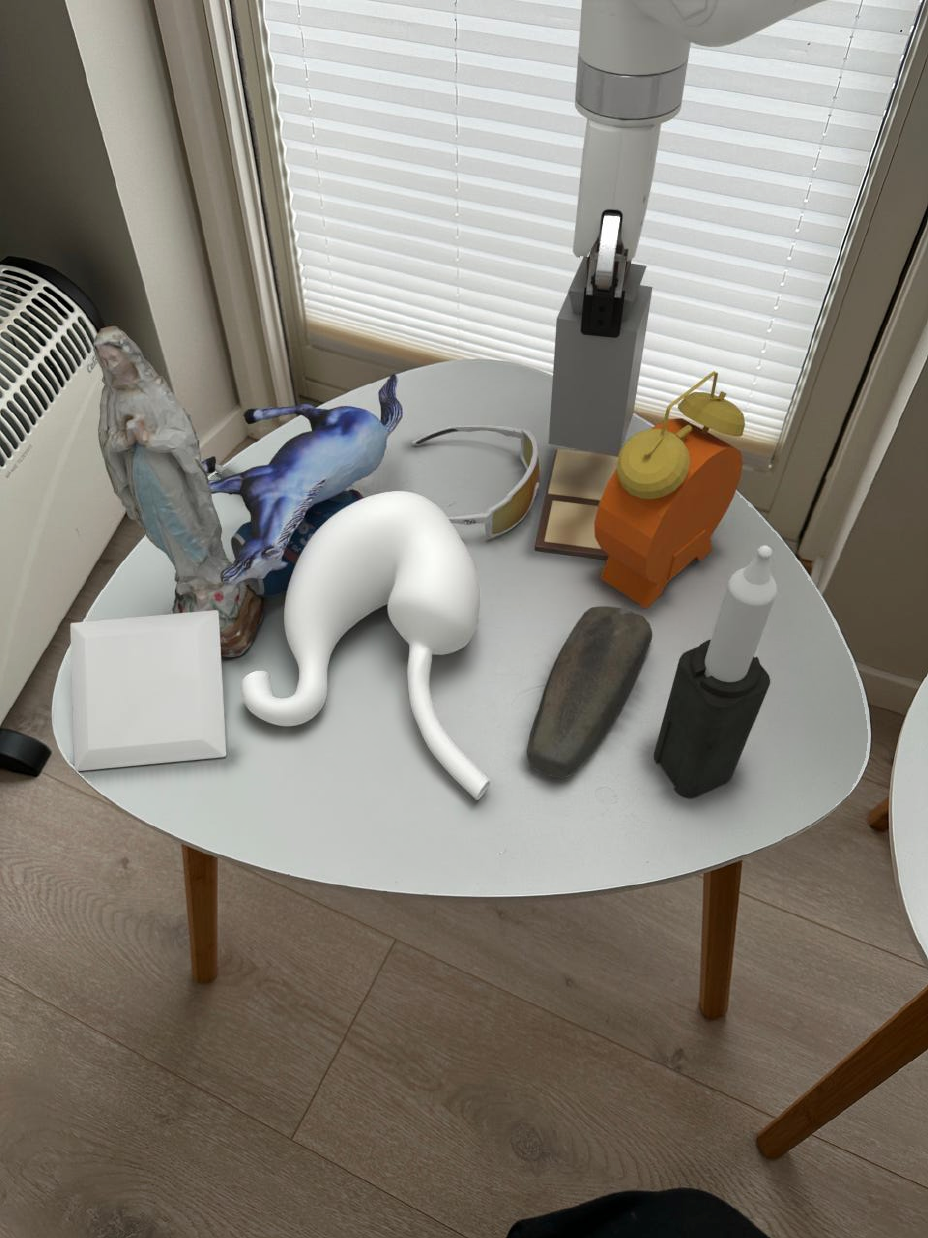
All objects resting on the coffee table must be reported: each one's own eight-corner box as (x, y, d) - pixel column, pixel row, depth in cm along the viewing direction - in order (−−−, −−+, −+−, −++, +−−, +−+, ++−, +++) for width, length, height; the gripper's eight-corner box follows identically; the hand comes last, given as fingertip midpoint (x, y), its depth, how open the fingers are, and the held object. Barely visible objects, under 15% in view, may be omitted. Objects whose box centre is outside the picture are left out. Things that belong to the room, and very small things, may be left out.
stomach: (235, 702, 83) (449, 864, 76) (177, 653, 71) (425, 840, 64) (392, 511, 89) (605, 645, 82) (362, 434, 77) (611, 584, 69)
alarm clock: (672, 510, 92) (710, 334, 76) (724, 542, 89) (774, 366, 73) (583, 583, 86) (604, 409, 70) (636, 620, 83) (670, 447, 68)
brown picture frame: (624, 461, 96) (625, 456, 96) (610, 560, 88) (611, 555, 87) (555, 453, 97) (555, 447, 97) (534, 550, 89) (534, 545, 88)
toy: (121, 509, 78) (228, 558, 69) (344, 331, 90) (460, 353, 81) (165, 575, 83) (270, 627, 75) (370, 398, 95) (482, 425, 86)
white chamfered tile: (69, 771, 73) (91, 771, 78) (223, 756, 74) (236, 757, 79) (65, 620, 75) (86, 630, 80) (215, 607, 76) (228, 617, 81)
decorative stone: (586, 614, 84) (590, 583, 81) (655, 638, 82) (662, 608, 79) (508, 766, 74) (509, 739, 71) (584, 797, 72) (589, 770, 69)
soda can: (236, 523, 79) (359, 475, 84) (222, 535, 86) (337, 490, 90) (269, 598, 80) (390, 546, 85) (253, 605, 86) (366, 556, 91)
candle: (647, 751, 75) (704, 532, 55) (701, 727, 76) (775, 506, 57) (683, 803, 72) (756, 592, 52) (738, 777, 73) (829, 562, 54)
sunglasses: (521, 555, 88) (515, 516, 84) (375, 537, 93) (363, 500, 89) (558, 458, 96) (554, 418, 93) (423, 446, 101) (414, 408, 97)
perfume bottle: (548, 443, 88) (559, 268, 74) (565, 399, 92) (579, 225, 78) (619, 457, 87) (644, 281, 73) (633, 412, 91) (660, 237, 77)
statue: (164, 649, 82) (36, 361, 59) (197, 586, 86) (90, 296, 63) (244, 663, 81) (146, 376, 57) (274, 599, 85) (194, 308, 62)
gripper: (590, 31, 71) (574, 249, 85) (559, 134, 61) (546, 364, 75) (690, 37, 70) (657, 256, 84) (676, 143, 60) (641, 374, 74)
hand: (605, 305), depth 79 cm, fingers closed on perfume bottle, 7 cm apart
